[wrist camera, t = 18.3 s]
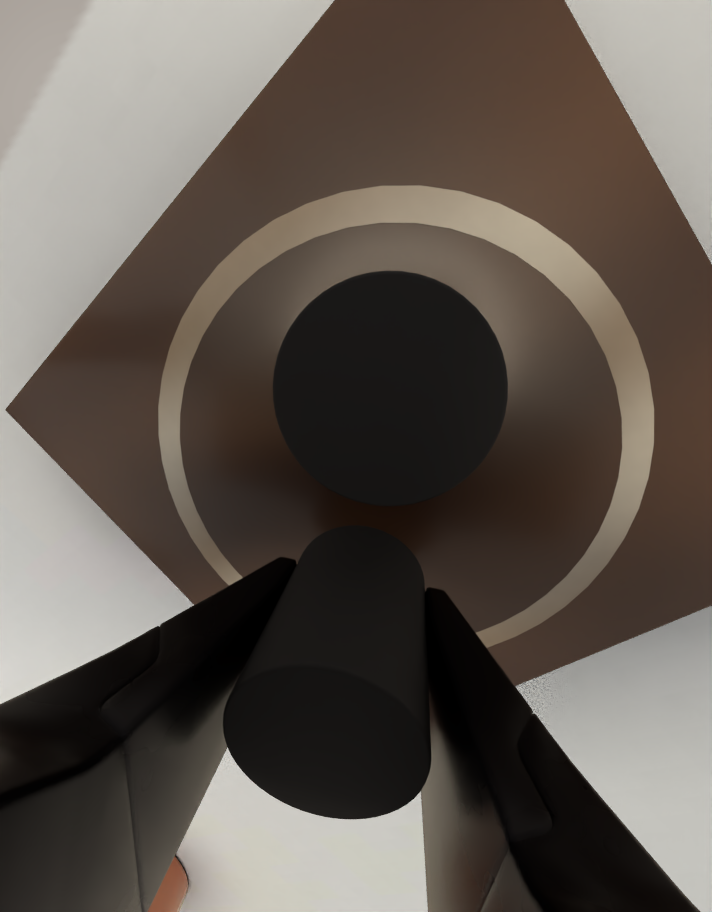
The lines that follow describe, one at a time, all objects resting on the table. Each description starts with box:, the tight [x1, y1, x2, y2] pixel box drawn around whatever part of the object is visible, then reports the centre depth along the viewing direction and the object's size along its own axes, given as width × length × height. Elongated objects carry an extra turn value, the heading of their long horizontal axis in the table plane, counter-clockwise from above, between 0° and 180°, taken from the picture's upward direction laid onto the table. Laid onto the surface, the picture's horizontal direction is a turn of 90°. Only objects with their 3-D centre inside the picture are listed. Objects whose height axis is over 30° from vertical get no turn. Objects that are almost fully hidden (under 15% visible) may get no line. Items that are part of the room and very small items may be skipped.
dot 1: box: [273, 271, 508, 506], centre depth 7 cm, size 3×3×4 cm
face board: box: [6, 0, 712, 686], centre depth 10 cm, size 16×16×1 cm
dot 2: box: [223, 525, 431, 819], centre depth 7 cm, size 3×3×4 cm
